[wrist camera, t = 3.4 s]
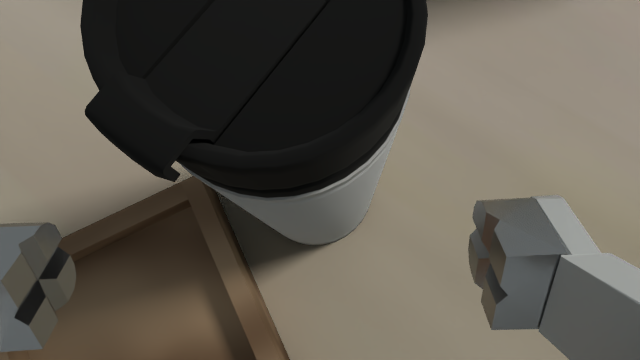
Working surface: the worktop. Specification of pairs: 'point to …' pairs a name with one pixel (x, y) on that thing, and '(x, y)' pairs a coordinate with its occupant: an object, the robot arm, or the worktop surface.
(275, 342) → the tray
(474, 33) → the worktop surface
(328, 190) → the travel mug
